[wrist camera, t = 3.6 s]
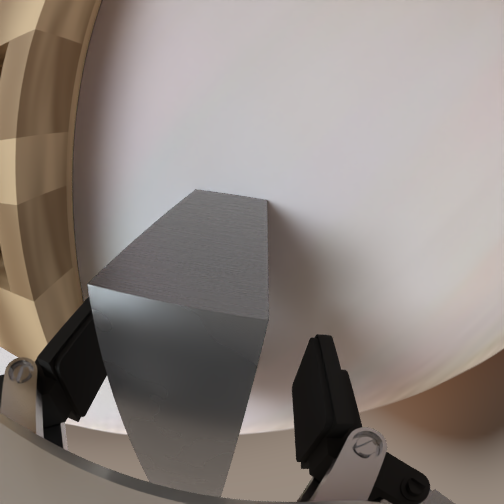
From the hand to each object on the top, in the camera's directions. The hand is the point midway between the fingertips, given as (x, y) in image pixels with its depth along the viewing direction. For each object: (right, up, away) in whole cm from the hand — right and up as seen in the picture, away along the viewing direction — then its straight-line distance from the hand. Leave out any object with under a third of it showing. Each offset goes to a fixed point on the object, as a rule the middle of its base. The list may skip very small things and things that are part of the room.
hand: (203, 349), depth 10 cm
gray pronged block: (0, +1, +3) cm, 4 cm away
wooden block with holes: (-11, +9, +1) cm, 14 cm away
